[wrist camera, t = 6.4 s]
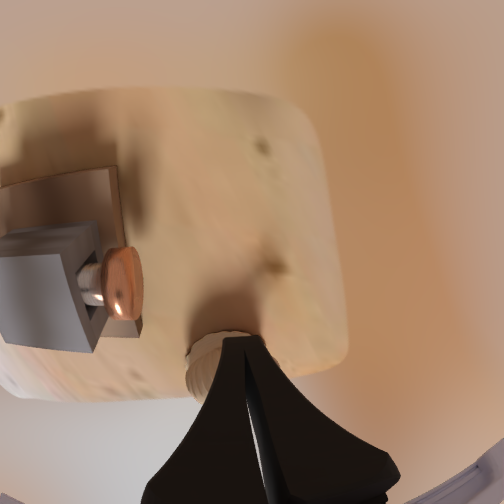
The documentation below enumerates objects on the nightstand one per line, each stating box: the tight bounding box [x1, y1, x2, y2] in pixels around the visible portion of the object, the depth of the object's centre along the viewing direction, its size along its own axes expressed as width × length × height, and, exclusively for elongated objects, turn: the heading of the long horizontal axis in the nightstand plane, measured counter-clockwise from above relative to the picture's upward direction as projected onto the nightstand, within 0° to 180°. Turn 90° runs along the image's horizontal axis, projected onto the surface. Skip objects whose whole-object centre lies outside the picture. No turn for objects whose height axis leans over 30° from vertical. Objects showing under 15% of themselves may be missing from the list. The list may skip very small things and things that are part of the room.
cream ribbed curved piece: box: [185, 331, 280, 404], centre depth 20 cm, size 4×8×5 cm, turn 121°
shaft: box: [75, 247, 143, 320], centre depth 14 cm, size 11×4×4 cm, turn 89°
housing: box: [0, 166, 143, 353], centre depth 15 cm, size 10×12×6 cm
